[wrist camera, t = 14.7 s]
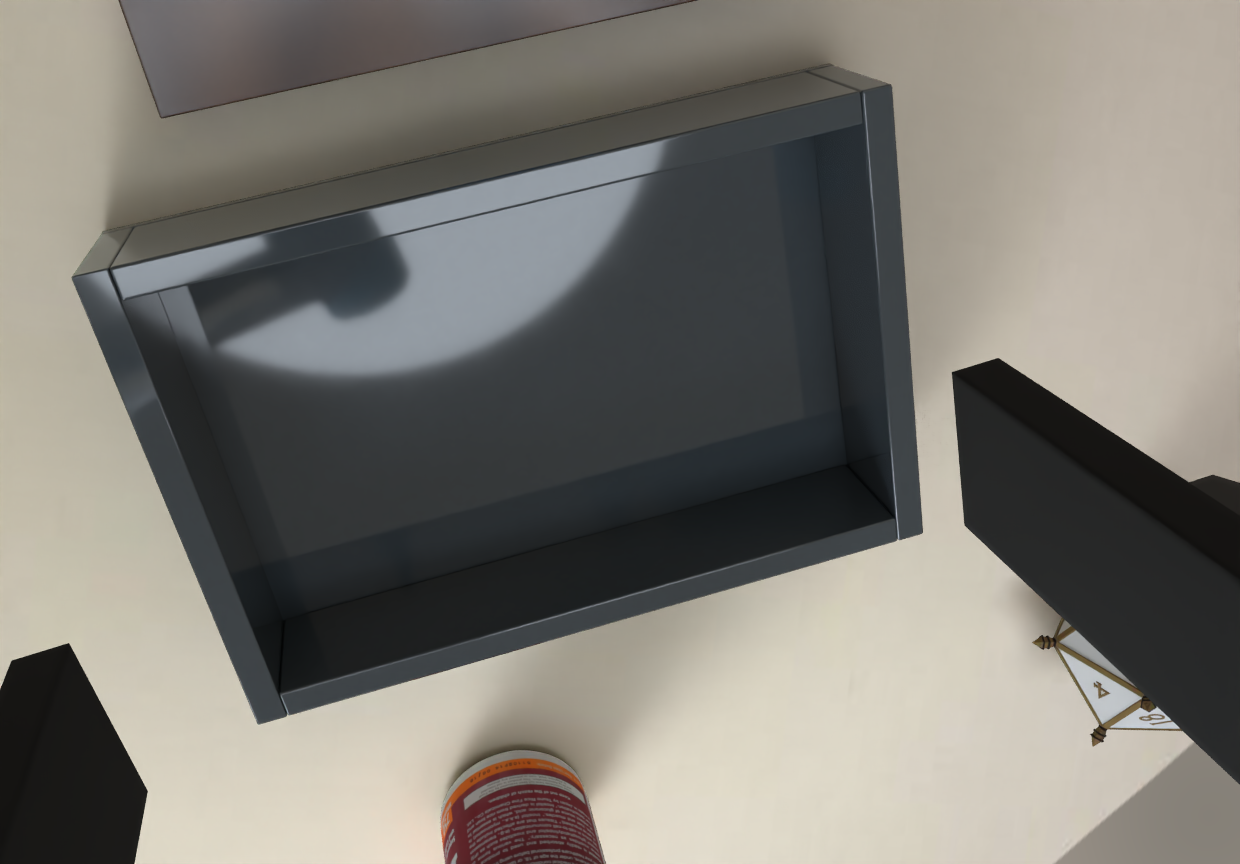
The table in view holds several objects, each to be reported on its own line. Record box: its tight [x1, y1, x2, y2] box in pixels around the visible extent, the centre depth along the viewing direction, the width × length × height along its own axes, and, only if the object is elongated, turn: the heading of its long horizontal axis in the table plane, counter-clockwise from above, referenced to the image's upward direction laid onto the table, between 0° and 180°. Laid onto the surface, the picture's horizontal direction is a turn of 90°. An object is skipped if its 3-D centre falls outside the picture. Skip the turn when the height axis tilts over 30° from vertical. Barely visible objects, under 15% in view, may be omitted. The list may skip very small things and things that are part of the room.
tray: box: [72, 64, 923, 725], centre depth 38 cm, size 24×16×5 cm, turn 100°
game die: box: [1032, 618, 1182, 746], centre depth 47 cm, size 9×8×10 cm
